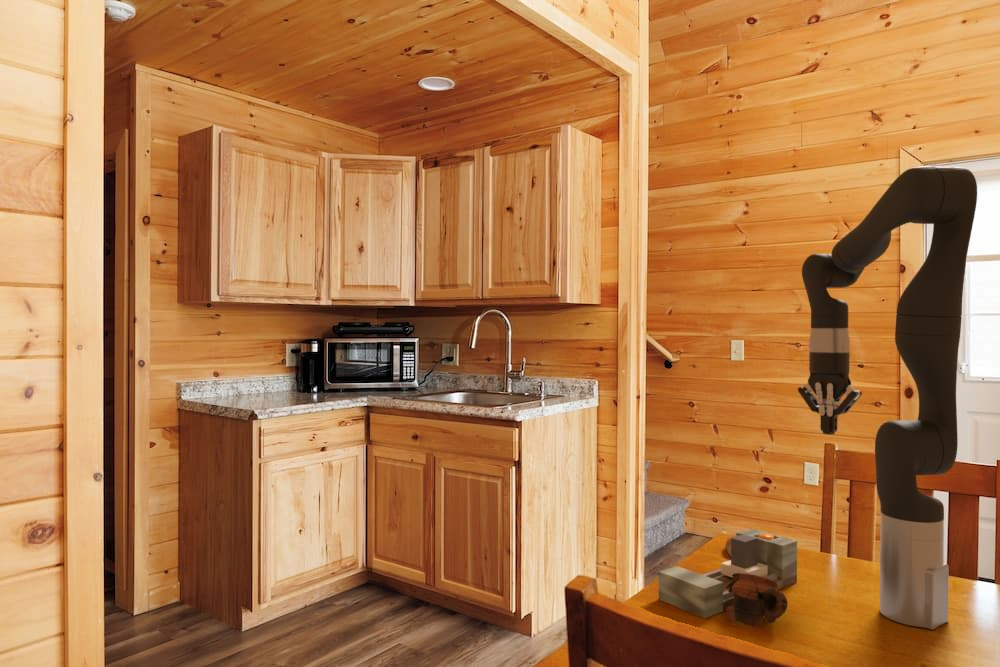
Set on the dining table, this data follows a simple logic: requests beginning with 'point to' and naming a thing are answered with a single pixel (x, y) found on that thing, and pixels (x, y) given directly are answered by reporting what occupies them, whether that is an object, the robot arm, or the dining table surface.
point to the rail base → (726, 578)
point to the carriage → (744, 558)
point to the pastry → (729, 545)
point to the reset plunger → (766, 536)
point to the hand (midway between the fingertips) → (828, 433)
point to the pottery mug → (755, 600)
